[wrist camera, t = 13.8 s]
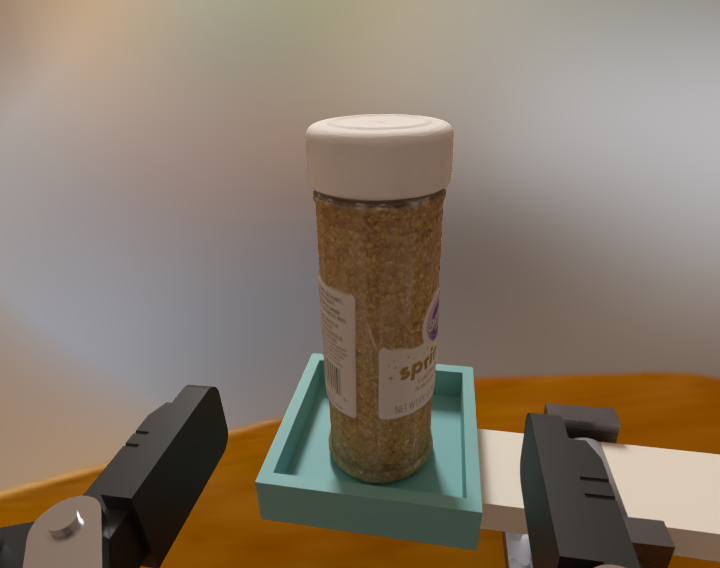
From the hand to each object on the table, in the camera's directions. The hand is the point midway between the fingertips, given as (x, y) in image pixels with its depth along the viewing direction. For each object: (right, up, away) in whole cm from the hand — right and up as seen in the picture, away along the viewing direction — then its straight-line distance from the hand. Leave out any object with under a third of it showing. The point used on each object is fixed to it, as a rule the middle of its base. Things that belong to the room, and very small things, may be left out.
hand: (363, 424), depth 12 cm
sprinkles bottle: (+1, -4, +8) cm, 9 cm away
